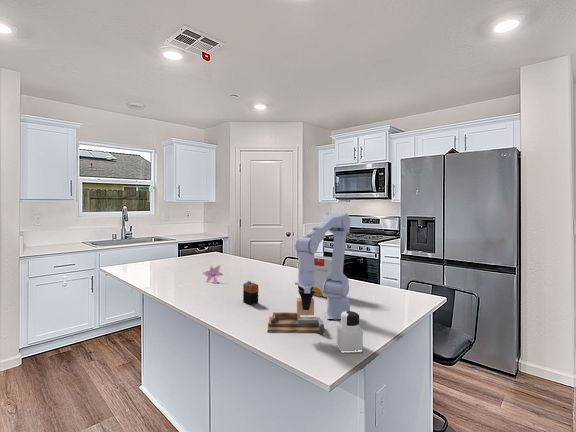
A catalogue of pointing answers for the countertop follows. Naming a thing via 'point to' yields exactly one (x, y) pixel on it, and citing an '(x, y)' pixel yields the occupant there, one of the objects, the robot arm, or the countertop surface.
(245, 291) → the battery
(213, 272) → the lily
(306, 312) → the block with dome
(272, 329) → the housing
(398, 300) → the countertop surface
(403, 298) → the countertop surface
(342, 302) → the robot arm
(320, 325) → the gate
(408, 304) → the countertop surface
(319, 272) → the hard drive box
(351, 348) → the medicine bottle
